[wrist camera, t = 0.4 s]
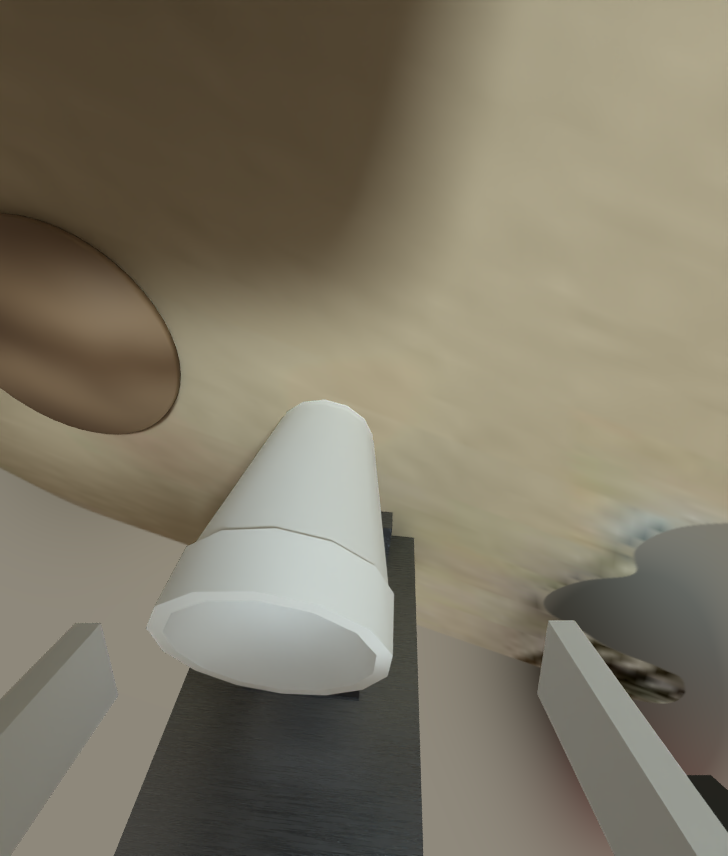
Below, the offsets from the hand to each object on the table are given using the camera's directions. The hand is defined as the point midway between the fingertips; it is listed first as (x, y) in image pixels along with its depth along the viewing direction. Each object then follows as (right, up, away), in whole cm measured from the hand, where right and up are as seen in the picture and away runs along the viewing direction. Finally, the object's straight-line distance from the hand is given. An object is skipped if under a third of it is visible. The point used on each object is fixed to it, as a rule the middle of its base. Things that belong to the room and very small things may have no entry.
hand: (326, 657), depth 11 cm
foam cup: (-1, +6, +14) cm, 15 cm away
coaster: (-16, +12, +10) cm, 23 cm away
